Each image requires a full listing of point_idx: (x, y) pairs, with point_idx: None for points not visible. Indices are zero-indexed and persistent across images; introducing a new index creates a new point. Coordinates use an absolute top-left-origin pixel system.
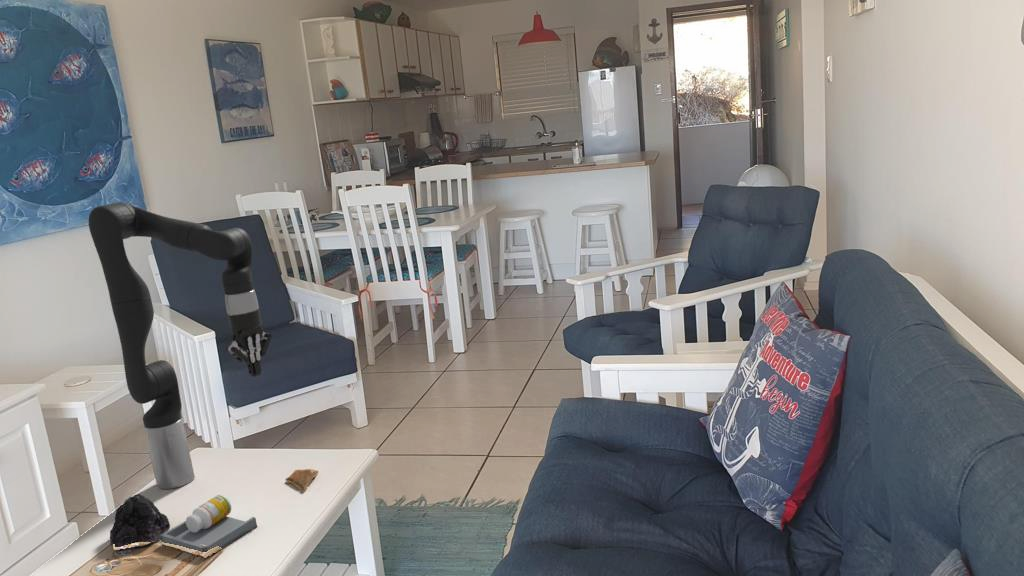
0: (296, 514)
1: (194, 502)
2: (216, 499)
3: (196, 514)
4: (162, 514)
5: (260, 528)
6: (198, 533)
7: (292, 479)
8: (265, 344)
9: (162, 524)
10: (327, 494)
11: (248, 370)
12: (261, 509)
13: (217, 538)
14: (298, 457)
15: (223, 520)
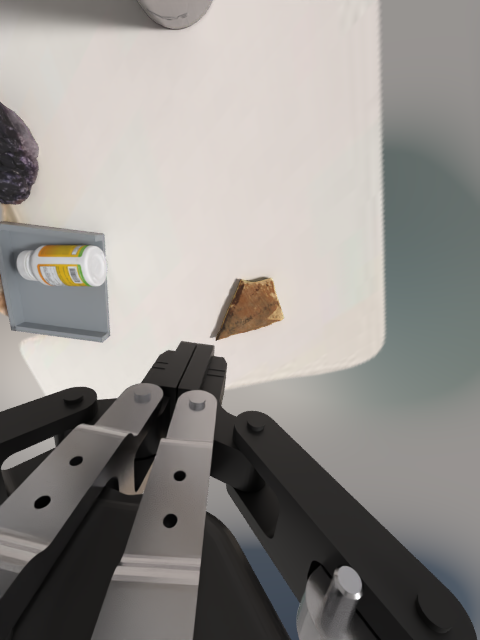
0: None
1: (120, 143)
2: (70, 276)
3: (30, 270)
4: (4, 184)
5: (109, 342)
6: None
7: (238, 298)
8: (284, 566)
9: (2, 201)
10: None
11: (154, 363)
12: (150, 305)
13: (36, 329)
14: (342, 226)
15: None
